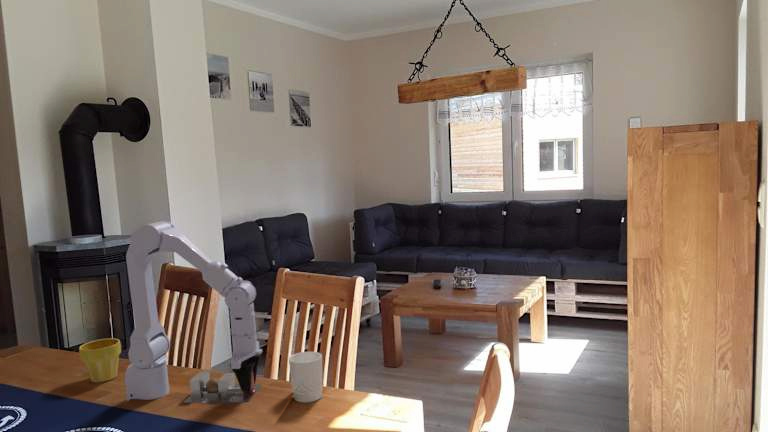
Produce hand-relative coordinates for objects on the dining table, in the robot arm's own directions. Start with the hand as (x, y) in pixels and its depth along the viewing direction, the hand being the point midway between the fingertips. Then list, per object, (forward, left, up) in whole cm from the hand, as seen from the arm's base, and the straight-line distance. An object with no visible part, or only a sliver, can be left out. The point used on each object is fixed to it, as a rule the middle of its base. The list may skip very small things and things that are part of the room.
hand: (248, 387), depth 147 cm
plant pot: (-46, +14, -3) cm, 48 cm away
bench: (-6, 0, -3) cm, 7 cm away
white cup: (+15, 0, -3) cm, 15 cm away
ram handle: (-2, 0, -1) cm, 3 cm away
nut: (-9, 0, -1) cm, 9 cm away
